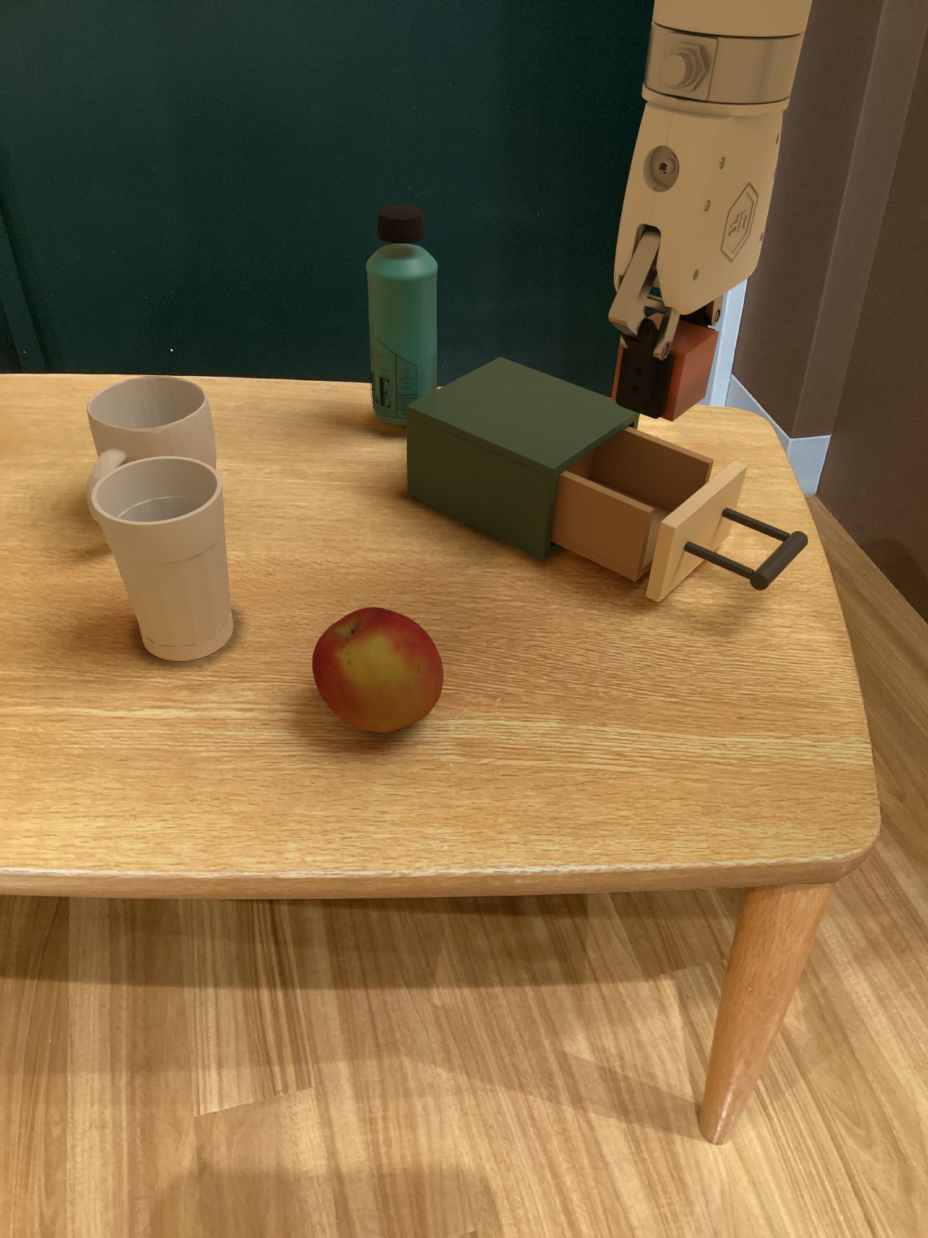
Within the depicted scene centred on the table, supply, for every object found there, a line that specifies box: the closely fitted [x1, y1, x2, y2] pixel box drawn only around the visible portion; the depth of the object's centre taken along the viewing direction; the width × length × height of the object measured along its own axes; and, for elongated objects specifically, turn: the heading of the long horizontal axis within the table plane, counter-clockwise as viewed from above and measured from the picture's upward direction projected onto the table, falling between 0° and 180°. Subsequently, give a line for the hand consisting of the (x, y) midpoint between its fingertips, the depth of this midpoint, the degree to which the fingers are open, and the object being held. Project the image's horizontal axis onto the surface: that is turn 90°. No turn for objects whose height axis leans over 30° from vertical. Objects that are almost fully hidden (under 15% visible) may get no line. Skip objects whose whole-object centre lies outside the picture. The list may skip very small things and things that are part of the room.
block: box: [611, 312, 720, 423], centre depth 58 cm, size 4×4×4 cm
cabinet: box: [405, 356, 641, 562], centre depth 78 cm, size 15×13×9 cm
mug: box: [85, 375, 217, 525], centre depth 73 cm, size 13×9×10 cm
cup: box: [91, 456, 234, 662], centre depth 62 cm, size 8×8×12 cm
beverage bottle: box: [365, 204, 440, 426], centre depth 84 cm, size 6×7×20 cm
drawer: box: [550, 426, 809, 603], centre depth 72 cm, size 20×11×7 cm, turn 51°
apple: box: [311, 606, 445, 733], centre depth 58 cm, size 8×8×8 cm
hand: (659, 393), depth 59 cm, fingers closed on block, 4 cm apart
